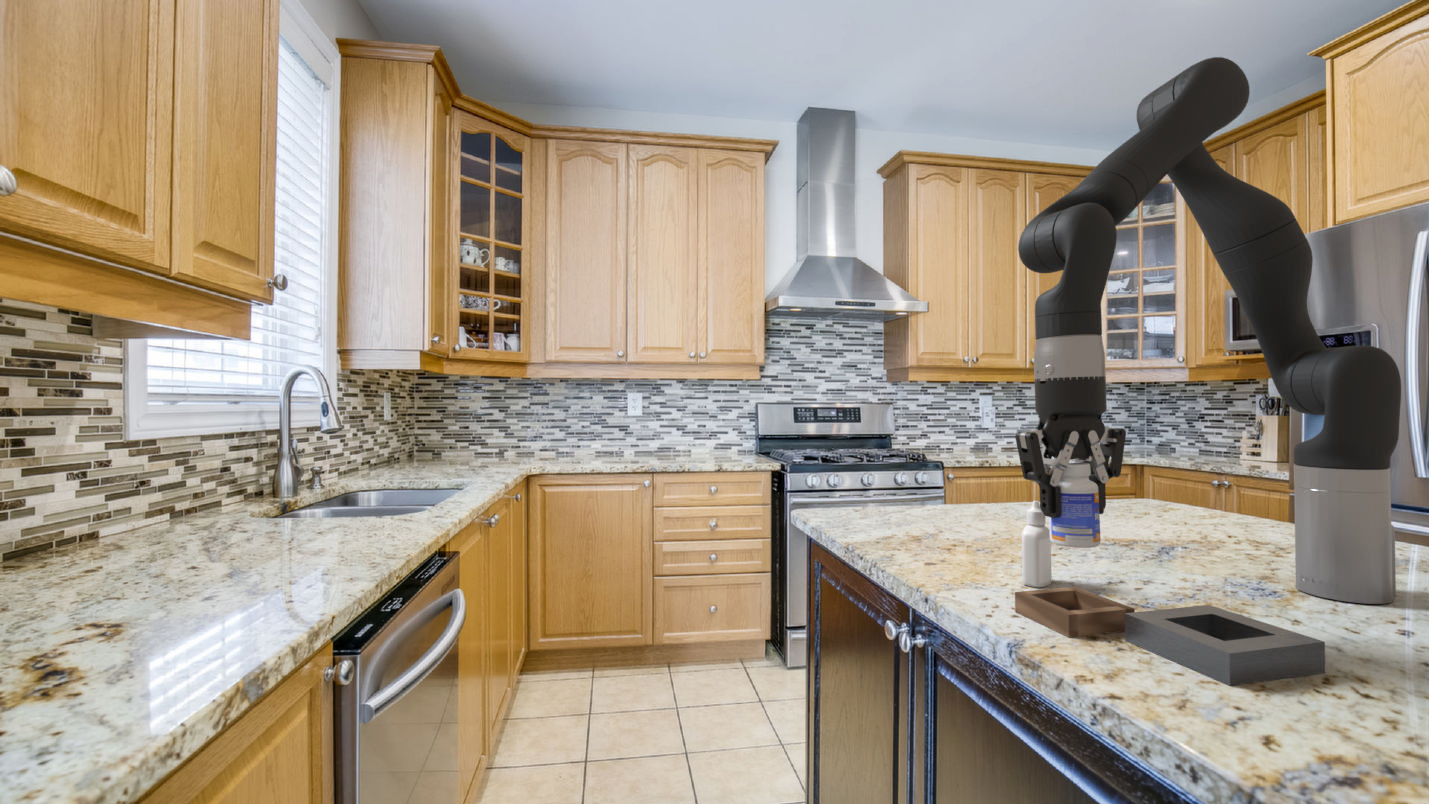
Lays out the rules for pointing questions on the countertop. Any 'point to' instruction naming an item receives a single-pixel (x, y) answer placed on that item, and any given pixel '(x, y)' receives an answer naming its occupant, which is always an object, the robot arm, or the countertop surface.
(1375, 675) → the countertop surface
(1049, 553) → the eye dropper bottle
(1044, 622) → the walnut stand
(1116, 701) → the countertop surface
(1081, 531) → the pill bottle
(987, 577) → the countertop surface
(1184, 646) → the steel block
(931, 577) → the countertop surface
